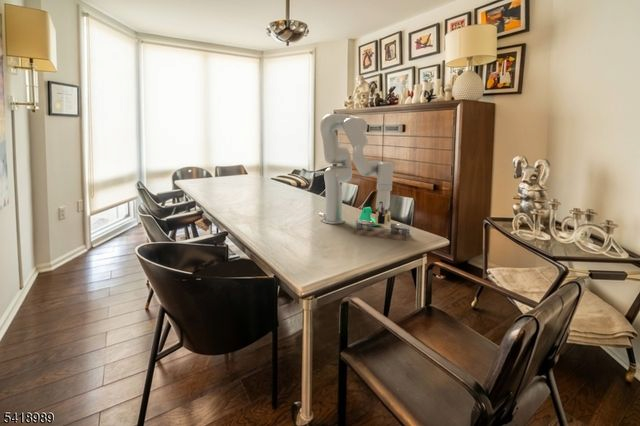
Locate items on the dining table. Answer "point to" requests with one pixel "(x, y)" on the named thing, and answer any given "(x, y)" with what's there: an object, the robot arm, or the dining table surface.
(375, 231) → the shaft bed
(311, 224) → the dining table surface
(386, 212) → the gold square block
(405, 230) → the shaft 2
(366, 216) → the camera mount
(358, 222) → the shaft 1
